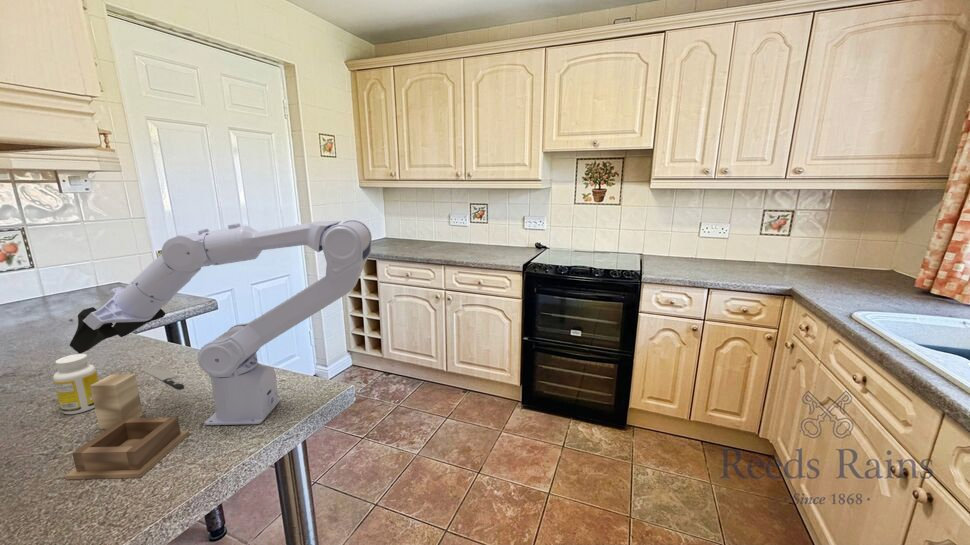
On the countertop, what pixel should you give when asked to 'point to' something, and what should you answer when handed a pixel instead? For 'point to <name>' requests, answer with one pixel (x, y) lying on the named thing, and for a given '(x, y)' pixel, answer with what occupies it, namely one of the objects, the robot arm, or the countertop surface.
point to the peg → (116, 399)
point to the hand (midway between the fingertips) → (98, 340)
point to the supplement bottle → (74, 383)
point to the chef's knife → (164, 377)
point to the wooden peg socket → (127, 448)
